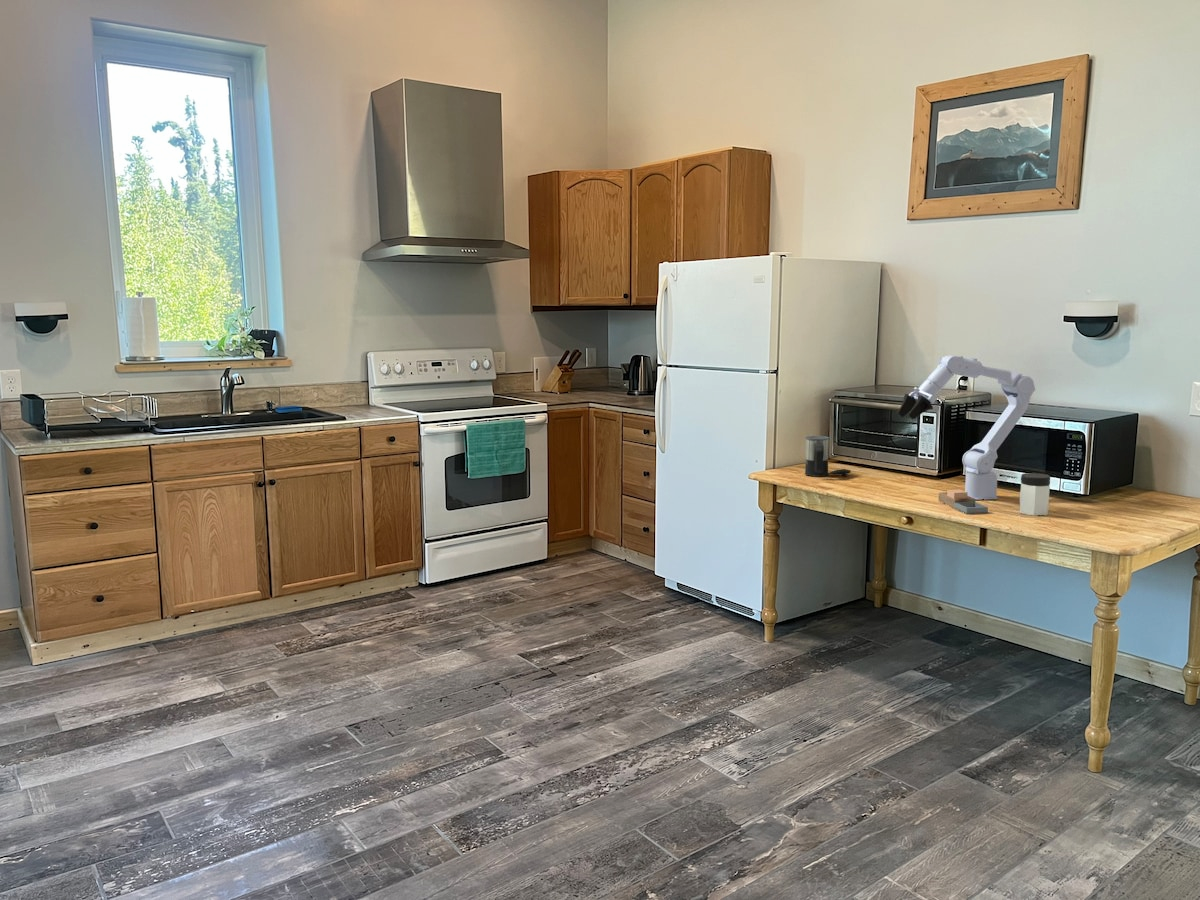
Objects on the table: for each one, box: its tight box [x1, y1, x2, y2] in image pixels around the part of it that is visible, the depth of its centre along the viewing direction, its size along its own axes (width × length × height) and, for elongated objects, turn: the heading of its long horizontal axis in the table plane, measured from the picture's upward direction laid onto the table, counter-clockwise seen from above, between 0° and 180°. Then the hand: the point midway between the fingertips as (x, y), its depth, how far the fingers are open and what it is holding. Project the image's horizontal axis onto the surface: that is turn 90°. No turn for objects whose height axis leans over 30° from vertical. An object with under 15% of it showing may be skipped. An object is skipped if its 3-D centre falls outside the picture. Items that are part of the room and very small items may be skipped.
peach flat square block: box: [946, 488, 968, 499], centre depth 282 cm, size 4×4×2 cm
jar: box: [1018, 472, 1051, 517], centre depth 271 cm, size 9×8×12 cm
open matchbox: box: [938, 491, 976, 509], centre depth 284 cm, size 7×10×3 cm, turn 6°
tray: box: [953, 501, 989, 515], centre depth 275 cm, size 7×8×2 cm
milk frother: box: [804, 435, 852, 477], centre depth 334 cm, size 14×16×15 cm
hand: (905, 416), depth 285 cm, fingers open, 7 cm apart
